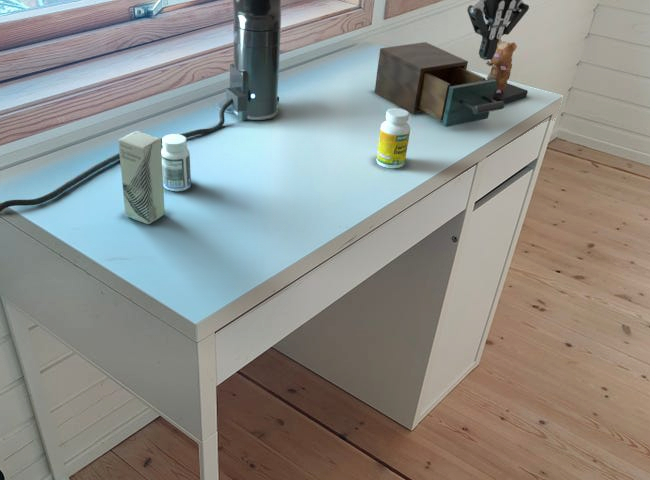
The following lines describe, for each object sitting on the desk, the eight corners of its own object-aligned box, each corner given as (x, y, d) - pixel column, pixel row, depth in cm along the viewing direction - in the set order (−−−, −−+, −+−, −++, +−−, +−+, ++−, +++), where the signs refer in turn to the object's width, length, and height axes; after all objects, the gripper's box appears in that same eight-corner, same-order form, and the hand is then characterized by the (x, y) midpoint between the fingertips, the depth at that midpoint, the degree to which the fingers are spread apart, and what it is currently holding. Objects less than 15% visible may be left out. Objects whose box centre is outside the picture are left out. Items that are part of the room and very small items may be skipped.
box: (124, 216, 109) (115, 138, 101) (141, 205, 112) (134, 129, 103) (150, 226, 107) (143, 147, 99) (167, 214, 110) (162, 137, 101)
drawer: (506, 128, 140) (516, 89, 135) (463, 137, 136) (472, 97, 131) (447, 97, 153) (454, 60, 147) (405, 104, 148) (411, 67, 143)
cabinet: (458, 106, 151) (468, 61, 145) (412, 114, 146) (420, 68, 140) (418, 85, 161) (425, 41, 154) (374, 92, 156) (380, 48, 150)
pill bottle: (177, 176, 120) (174, 130, 115) (196, 185, 118) (194, 138, 113) (157, 185, 117) (153, 138, 112) (177, 194, 115) (174, 147, 110)
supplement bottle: (388, 154, 130) (395, 104, 124) (410, 163, 128) (419, 112, 121) (370, 162, 128) (376, 111, 121) (392, 171, 125) (400, 120, 118)
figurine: (463, 92, 158) (475, 37, 150) (490, 84, 163) (503, 30, 155) (499, 106, 152) (513, 49, 144) (526, 97, 157) (541, 41, 149)
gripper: (527, -51, 123) (499, 49, 135) (468, -49, 119) (445, 55, 130) (556, -41, 118) (525, 62, 130) (496, -38, 114) (469, 68, 125)
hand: (485, 58), depth 130 cm, fingers closed
